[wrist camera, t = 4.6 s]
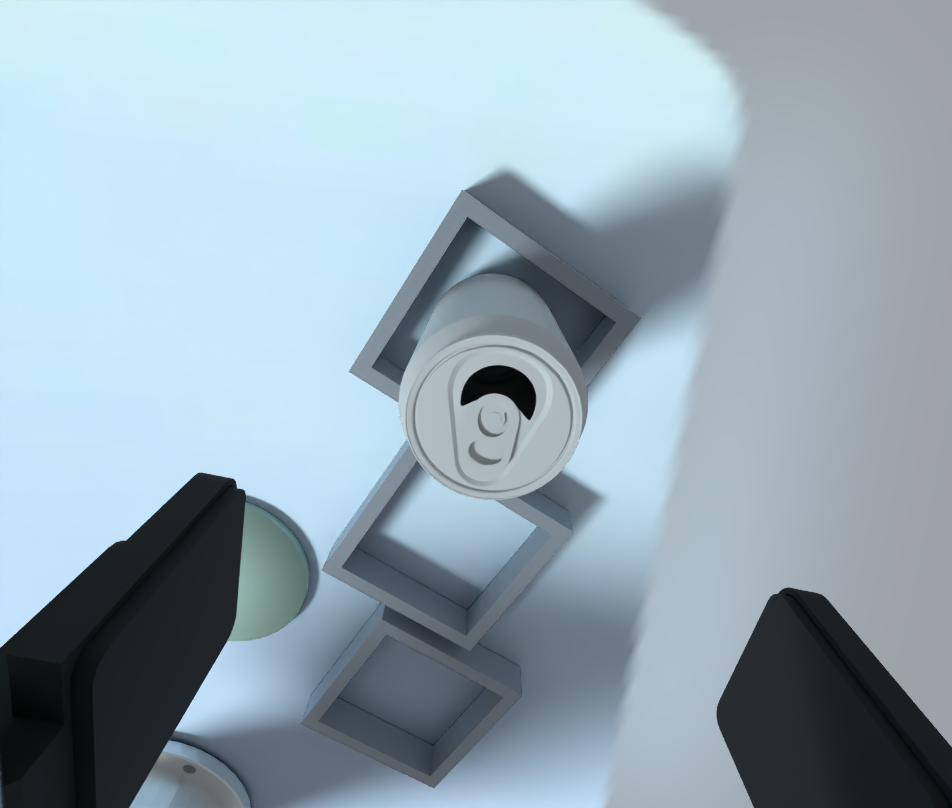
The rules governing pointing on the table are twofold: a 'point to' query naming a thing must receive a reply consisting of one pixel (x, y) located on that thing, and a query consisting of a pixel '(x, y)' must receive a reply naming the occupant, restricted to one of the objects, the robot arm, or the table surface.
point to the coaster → (268, 576)
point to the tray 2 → (422, 600)
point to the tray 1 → (617, 314)
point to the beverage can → (493, 391)
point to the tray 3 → (391, 741)
